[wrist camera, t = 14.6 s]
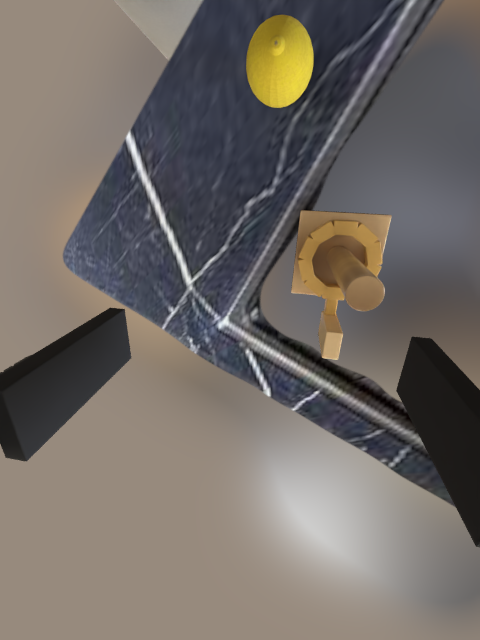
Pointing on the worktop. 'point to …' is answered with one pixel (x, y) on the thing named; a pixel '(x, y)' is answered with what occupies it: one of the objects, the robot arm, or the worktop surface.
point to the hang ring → (332, 293)
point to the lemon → (279, 61)
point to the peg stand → (343, 258)
